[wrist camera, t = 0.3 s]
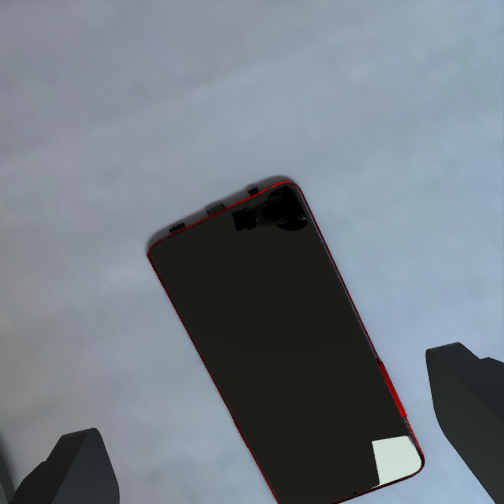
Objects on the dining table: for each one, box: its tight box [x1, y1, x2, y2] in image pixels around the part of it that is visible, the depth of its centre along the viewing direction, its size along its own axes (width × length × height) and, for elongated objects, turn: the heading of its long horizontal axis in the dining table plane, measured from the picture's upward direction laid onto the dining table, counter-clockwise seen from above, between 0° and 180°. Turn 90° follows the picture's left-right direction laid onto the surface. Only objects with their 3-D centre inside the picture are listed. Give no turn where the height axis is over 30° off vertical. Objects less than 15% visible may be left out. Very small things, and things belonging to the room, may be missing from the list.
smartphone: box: [147, 181, 425, 504], centre depth 34 cm, size 12×2×25 cm
